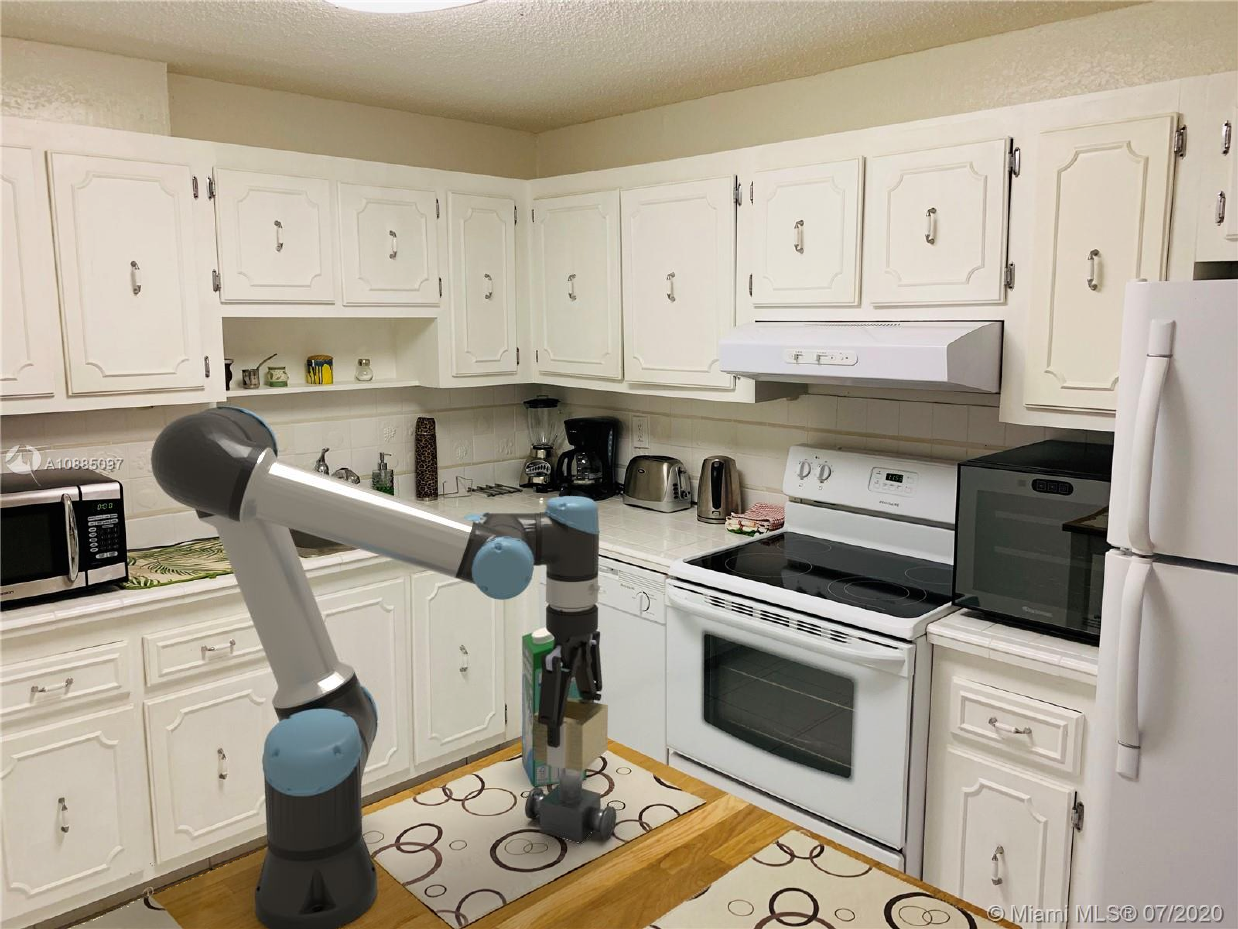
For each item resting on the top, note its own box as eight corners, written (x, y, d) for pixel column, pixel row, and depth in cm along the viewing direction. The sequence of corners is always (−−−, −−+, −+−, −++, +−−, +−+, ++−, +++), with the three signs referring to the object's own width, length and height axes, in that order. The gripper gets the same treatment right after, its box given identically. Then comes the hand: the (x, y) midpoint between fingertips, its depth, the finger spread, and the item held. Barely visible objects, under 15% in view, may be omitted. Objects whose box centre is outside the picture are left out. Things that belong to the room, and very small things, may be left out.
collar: (533, 760, 134) (533, 714, 133) (560, 739, 141) (560, 695, 140) (582, 772, 130) (582, 725, 129) (607, 749, 137) (607, 705, 136)
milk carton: (521, 762, 158) (521, 622, 154) (572, 756, 161) (573, 618, 157) (532, 787, 149) (533, 639, 146) (586, 780, 152) (588, 634, 149)
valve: (522, 827, 137) (522, 745, 135) (542, 809, 143) (543, 729, 141) (599, 849, 132) (601, 763, 130) (618, 829, 137) (619, 747, 135)
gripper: (559, 628, 121) (558, 790, 124) (626, 590, 140) (624, 731, 143) (511, 620, 124) (511, 778, 128) (583, 583, 143) (582, 722, 146)
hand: (571, 753), depth 135 cm, fingers closed on collar, 8 cm apart
